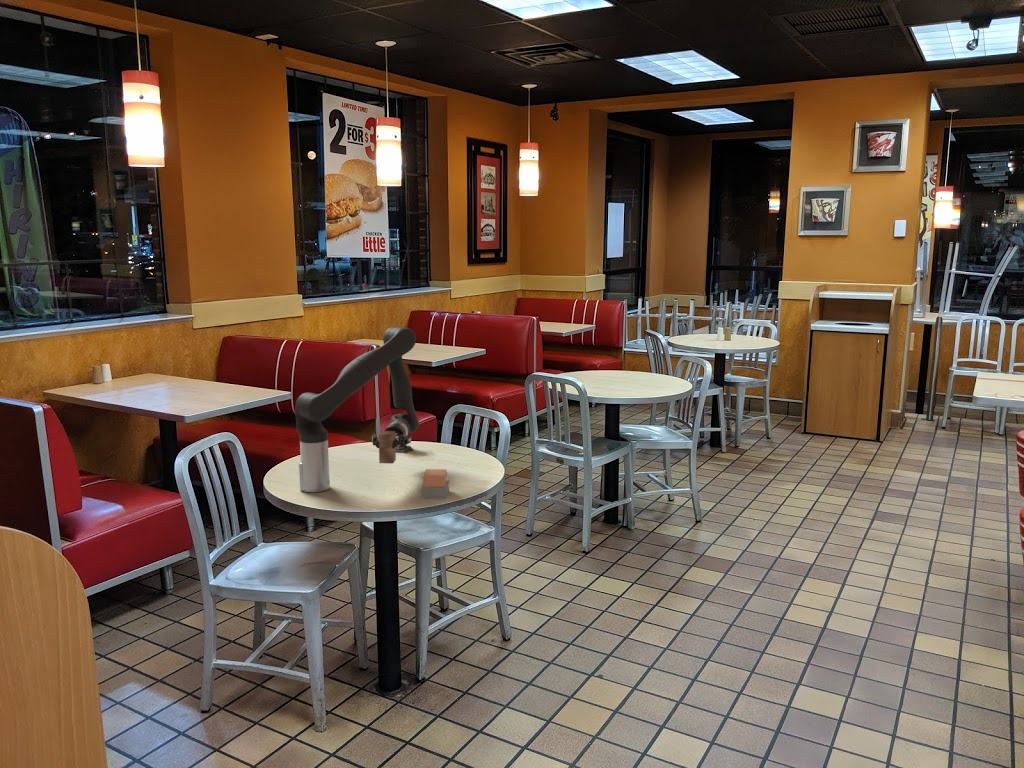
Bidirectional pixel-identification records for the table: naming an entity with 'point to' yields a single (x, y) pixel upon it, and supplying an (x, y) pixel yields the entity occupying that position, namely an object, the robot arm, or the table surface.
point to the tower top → (434, 478)
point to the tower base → (435, 491)
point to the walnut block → (386, 447)
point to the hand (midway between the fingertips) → (385, 445)
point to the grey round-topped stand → (403, 449)
